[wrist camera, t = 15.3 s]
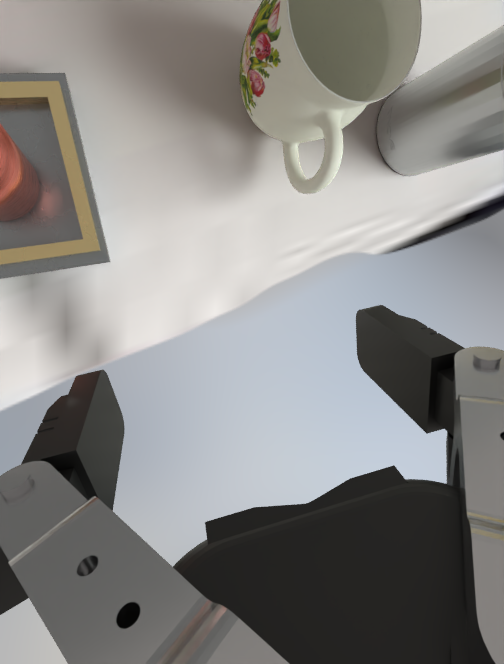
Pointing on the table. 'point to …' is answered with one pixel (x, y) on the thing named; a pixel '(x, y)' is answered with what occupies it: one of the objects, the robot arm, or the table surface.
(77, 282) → the table surface
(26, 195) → the spout can
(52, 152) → the grey tray
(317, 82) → the pitcher
